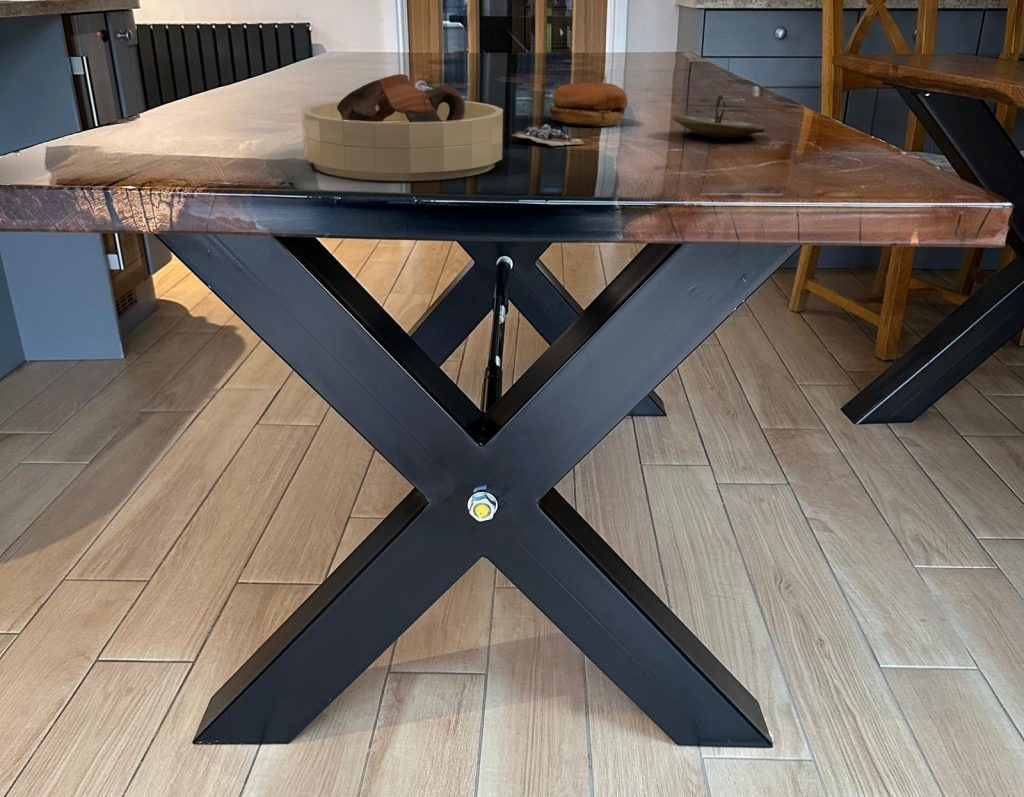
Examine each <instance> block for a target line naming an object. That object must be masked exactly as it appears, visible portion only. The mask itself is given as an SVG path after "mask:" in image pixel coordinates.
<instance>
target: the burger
mask: <svg viewBox="0 0 1024 797" xmlns="http://www.w3.org/2000/svg"><path fill="white" fill-rule="evenodd" d="M551 98H552V103H553V104H554V105H553V106H552V105H551V106H549V114H550V117H551V120H553V121H556V122H558V123H563V124H568V125H573V126H587V127H588V126H589V127H613V126H616V125H617V124H619V122H620V121H621V120H622V119H623V117H624V115H625V111H626V107H628V97H627V94H626V92H625V91H624V89H623V88H622V87H619V86H618V85H616V84H613V83H606V82H580V83H579V84H573V83H571V84H570V83H569V84H564V85H561V86H559V87H557V88H556V89H555V90H554V92H553V93H552V97H551Z"/></svg>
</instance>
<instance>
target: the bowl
mask: <svg viewBox="0 0 1024 797" xmlns="http://www.w3.org/2000/svg"><path fill="white" fill-rule="evenodd" d="M340 101H341V100H333V101H325V102H320V103H315V104H311V105H307V106H305V107H304V108H303V109H301V111H300V112H301V125H302V136H303V137H302V138H303V139H302V140H303V151H304V152H303V153H304V155H303V156H304V157H305V159H306V161H307V162H309V163H311V164H313V167H314V168H315V169H316V170H317V171H319V172H322V173H323V174H327V175H330V176H334V177H340V178H346V179H355V180H361V181H362V180H363V181H364V180H365V181H379V182H428V181H440V180H452V179H460V178H461V179H462V178H466V177H472V176H477V175H480V174H485V173H487V172H489V171H491V170H493V169H494V168H495V166H496V163H497V162H500V161H501V160H503V155H504V109H503V108H501V107H499V106H496V105H492V104H490V103H489V104H488V103H483V102H477V101H468V100H464V102H465V114H464V117H463V119H462V120H449V121H446V119H447V117H448V114H449V105H448V104H447V103H445V102H443V103H441V104H440V105H439V107H438V110H437V115H438V116H439V118H440V119H441V120H443V121H431V122H409V120H408V119H407V117H406V114H405V113H400V112H397V111H395V113H393V114H392V115H390V116H388V117H386V118H385V119H384V120H383V122H374V121H359V120H345V119H342V116H341V114H340V112H339V111H338V110H337V106H338V104H339V102H340ZM375 108H376V111H377V110H379V108H378V106H377V105H376V107H375Z"/></svg>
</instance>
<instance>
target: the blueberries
mask: <svg viewBox="0 0 1024 797" xmlns="http://www.w3.org/2000/svg"><path fill="white" fill-rule="evenodd" d="M511 136H512V137H517V138H520V139H521V138H522V139H530V140H531V141H534V142H536V143H539V144H545V145H549V146H550V147H551V146H552V147H555V146H564V145H567V146H569V145H571V146H572V145H583V146H584V145H585V141H583V140H581V139H580V138H572V136H571V135H570V134H568V133H565V132H564V133H563V131H562V130H561V129H555V128H551V126H550V124H544V125H542V127H541V128H539V127H536V126H527V127H526V128H525V130H524V131H521V130H517V131H515V132H514V134H511Z"/></svg>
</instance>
